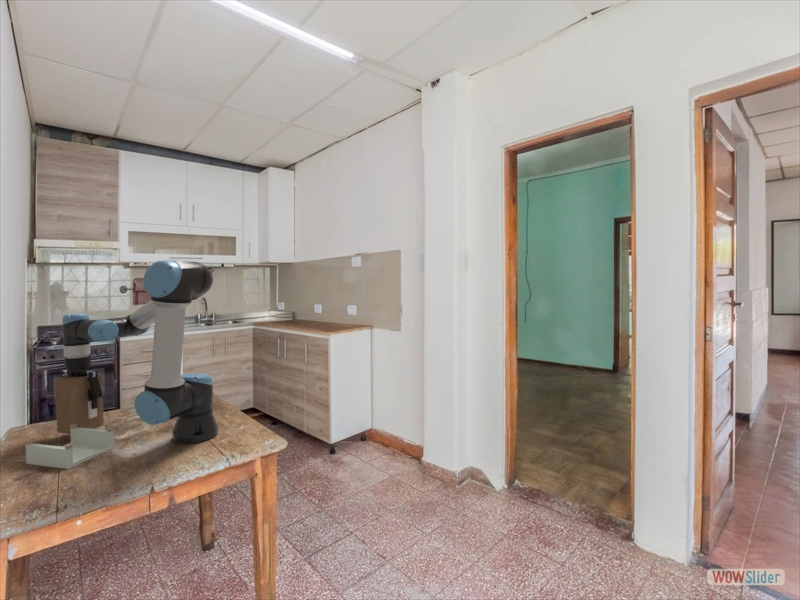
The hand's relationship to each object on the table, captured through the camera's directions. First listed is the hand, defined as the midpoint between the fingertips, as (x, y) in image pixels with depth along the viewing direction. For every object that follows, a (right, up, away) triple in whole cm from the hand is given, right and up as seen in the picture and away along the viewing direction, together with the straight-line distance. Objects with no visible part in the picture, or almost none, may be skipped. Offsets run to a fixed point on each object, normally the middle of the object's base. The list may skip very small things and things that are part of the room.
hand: (80, 416), depth 145 cm
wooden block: (0, -5, 0) cm, 5 cm away
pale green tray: (+9, -9, -14) cm, 19 cm away
